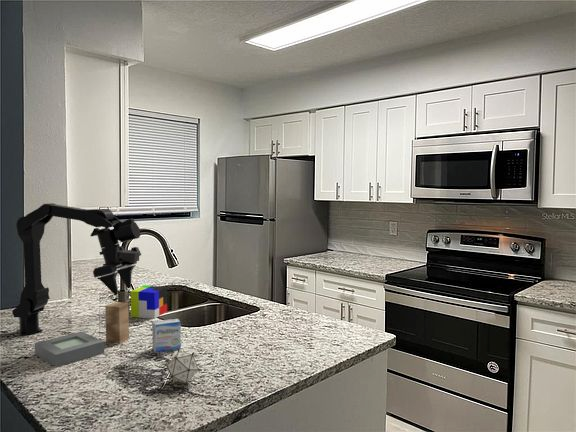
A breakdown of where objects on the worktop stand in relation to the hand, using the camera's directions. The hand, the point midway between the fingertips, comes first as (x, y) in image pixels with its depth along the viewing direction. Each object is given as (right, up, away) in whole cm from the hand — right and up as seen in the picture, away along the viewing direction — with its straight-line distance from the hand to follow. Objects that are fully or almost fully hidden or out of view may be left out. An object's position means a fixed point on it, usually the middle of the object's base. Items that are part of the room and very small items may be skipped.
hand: (123, 291), depth 147 cm
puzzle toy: (0, -14, +27) cm, 30 cm away
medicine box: (+17, -16, -10) cm, 26 cm away
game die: (+28, -18, -33) cm, 47 cm away
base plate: (-10, -16, -15) cm, 24 cm away
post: (0, -16, -3) cm, 16 cm away
